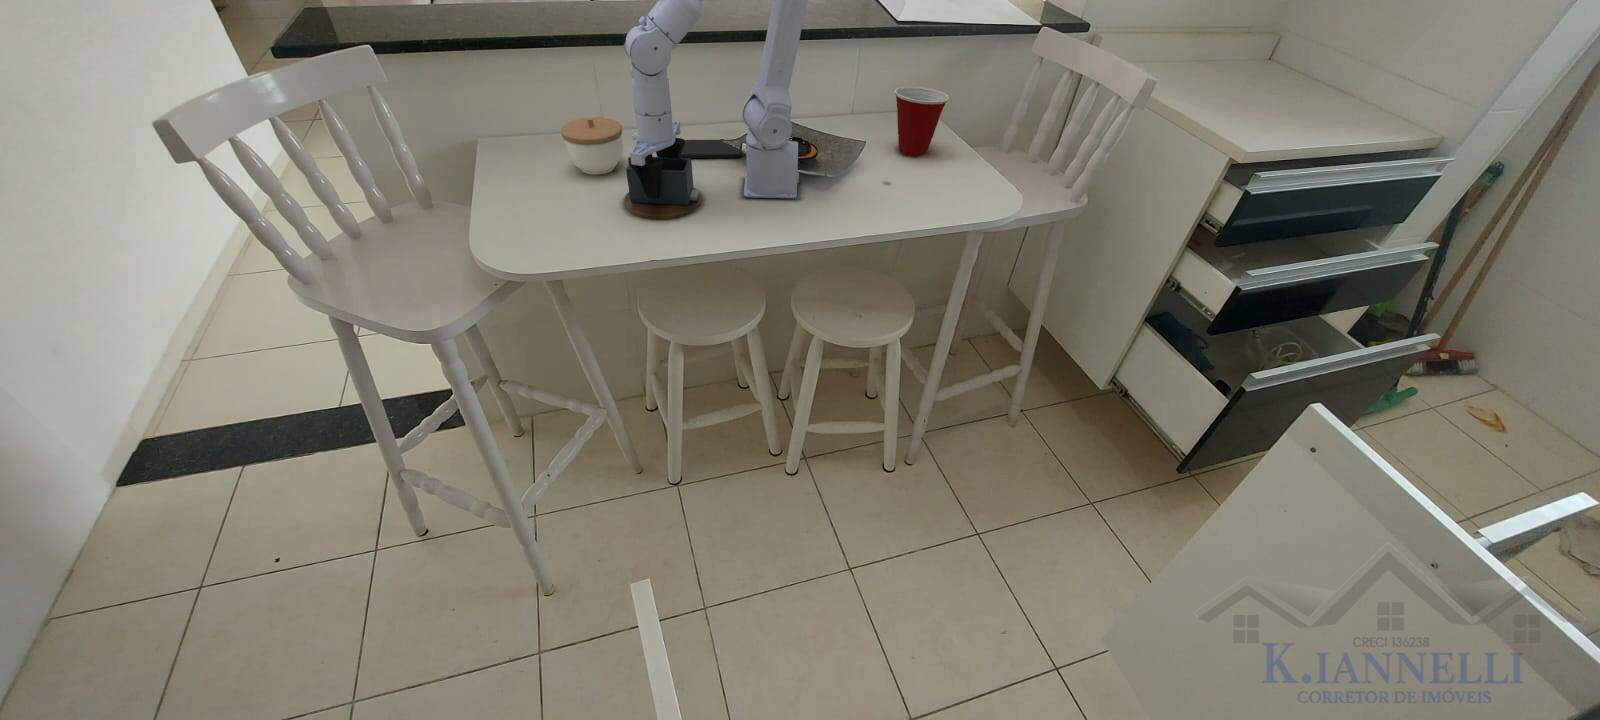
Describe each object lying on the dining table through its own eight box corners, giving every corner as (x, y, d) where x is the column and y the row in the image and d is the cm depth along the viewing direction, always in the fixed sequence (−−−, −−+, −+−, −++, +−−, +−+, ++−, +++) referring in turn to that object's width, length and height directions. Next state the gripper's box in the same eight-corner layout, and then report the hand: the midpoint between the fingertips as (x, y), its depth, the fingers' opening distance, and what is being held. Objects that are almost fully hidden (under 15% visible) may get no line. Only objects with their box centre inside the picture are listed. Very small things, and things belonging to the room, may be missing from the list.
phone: (741, 154, 131) (664, 154, 129) (741, 158, 131) (664, 158, 129) (739, 139, 136) (665, 139, 134) (739, 143, 137) (665, 143, 135)
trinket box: (613, 183, 121) (605, 132, 115) (558, 176, 122) (547, 126, 116) (636, 159, 129) (629, 111, 123) (584, 153, 130) (575, 105, 124)
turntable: (703, 186, 121) (703, 182, 121) (696, 220, 112) (696, 216, 111) (632, 184, 121) (631, 180, 120) (618, 218, 111) (618, 214, 111)
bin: (700, 191, 118) (698, 158, 114) (695, 205, 113) (693, 172, 110) (637, 188, 118) (633, 155, 114) (630, 202, 114) (625, 169, 110)
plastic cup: (947, 149, 139) (958, 90, 131) (926, 166, 131) (936, 105, 124) (901, 136, 143) (908, 79, 135) (877, 153, 136) (884, 93, 128)
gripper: (650, 92, 112) (658, 168, 121) (608, 122, 101) (620, 203, 110) (689, 97, 111) (694, 174, 119) (650, 128, 100) (659, 210, 109)
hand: (661, 188), depth 115 cm, fingers closed on bin, 6 cm apart
